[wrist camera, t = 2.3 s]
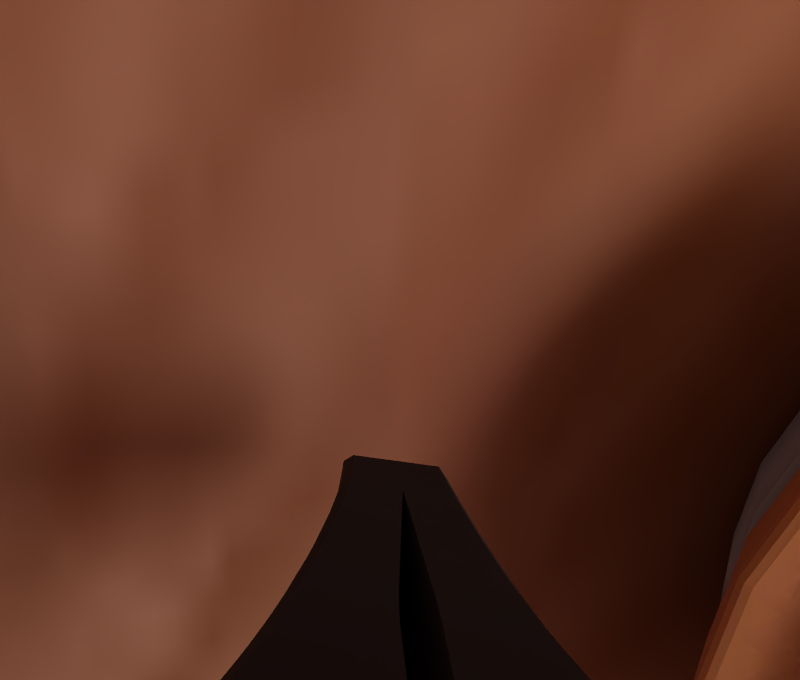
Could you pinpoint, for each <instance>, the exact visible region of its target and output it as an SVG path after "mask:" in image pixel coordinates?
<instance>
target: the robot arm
mask: <svg viewBox="0 0 800 680" xmlns="http://www.w3.org/2000/svg"><path fill="white" fill-rule="evenodd" d="M221 680H590V679H589V677H588V676H587V675H586V674H585V673H584V672H583V671H582V670H581V669H580V667H579V666H578V665H577V664H576V663H575V662H574V661H573V660H572V659H571V657H570V656H569V655H568V654H567V653H566V652H565V651H564V650H563V648H562V647H561V646H560V645H559V644H558V642H557V641H556V640H555V639H554V638H553V636H552V635H551V634H550V633H549V632H548V630H547V629H546V628H545V626H544V625H543V624H542V623H541V621H540V620H539V619H538V617H537V616H536V615H535V613H534V612H533V611H532V609H531V608H530V607H529V605H528V604H527V603H526V602H525V600H524V599H523V597H522V596H521V595H520V593H519V592H518V590H517V589H516V588H515V586H514V585H513V583H512V582H511V581H510V579H509V578H508V576H507V575H506V573H505V572H504V570H503V569H502V567H501V566H500V564H499V563H498V561H497V560H496V558H495V557H494V555H493V554H492V553H491V551H490V550H489V548H488V547H487V545H486V543H485V542H484V540H483V539H482V537H481V536H480V534H479V532H478V531H477V529H476V528H475V526H474V524H473V523H472V521H471V519H470V518H469V516H468V515H467V513H466V511H465V510H464V508H463V506H462V504H461V503H460V501H459V499H458V498H457V496H456V494H455V492H454V491H453V489H452V487H451V486H450V484H449V482H448V480H447V479H446V477H445V475H444V474H443V472H442V471H441V469H440V468H439V467H437V466H430V465H422V464H415V463H407V462H400V461H393V460H385V459H378V458H370V457H363V456H355V455H353V456H351V457H350V458H348V459H346V460H345V461H344V463H343V469H342V474H341V479H340V485H339V490H338V493H337V496H336V498H335V501H334V503H333V506H332V508H331V511H330V513H329V515H328V517H327V519H326V521H325V523H324V526H323V528H322V530H321V532H320V534H319V536H318V538H317V540H316V542H315V544H314V546H313V548H312V549H311V551H310V553H309V555H308V557H307V558H306V560H305V562H304V563H303V565H302V566H301V568H300V570H299V571H298V573H297V575H296V576H295V578H294V580H293V581H292V583H291V585H290V586H289V588H288V590H287V591H286V593H285V594H284V596H283V597H282V599H281V600H280V602H279V603H278V605H277V606H276V608H275V609H274V611H273V612H272V614H271V615H270V617H269V618H268V619H267V621H266V622H265V624H264V625H263V626H262V628H261V629H260V630H259V632H258V633H257V634H256V636H255V637H254V639H253V640H252V641H251V643H250V644H249V645H248V647H247V648H246V649H245V650H244V652H243V653H242V654H241V656H240V657H239V658H238V659H237V660H236V662H235V663H234V664H233V665H232V667H231V668H230V669H229V670H228V671H227V673H226V674H225V675H224V676H223V678H222V679H221Z"/></svg>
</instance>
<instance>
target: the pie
mask: <svg viewBox="0 0 800 680" xmlns="http://www.w3.org/2000/svg"><path fill="white" fill-rule="evenodd" d="M694 680H800V411H799V412H798V413H797V415H796V416H795V417H794V419H793V420H792V422H791V423H790V424H789V426H788V427H787V428H786V430H785V431H784V432H783V434H782V435H781V436H780V438H779V439H778V440H777V442H776V443H775V444H774V446H773V447H772V449H771V450H770V451H769V453H768V454H767V455H766V457H765V458H764V459H763V461H762V462H761V464H760V467H759V469H758V472H757V475H756V477H755V480H754V482H753V485H752V488H751V490H750V493H749V495H748V498H747V501H746V503H745V506H744V509H743V511H742V514H741V516H740V519H739V522H738V524H737V527H736V529H735V532H734V536H733V541H732V546H731V551H730V556H729V561H728V566H727V571H726V576H725V581H724V586H723V591H722V596H721V603H720V605H719V608H718V611H717V613H716V616H715V618H714V621H713V623H712V626H711V628H710V631H709V633H708V636H707V639H706V642H705V645H704V649H703V652H702V655H701V658H700V662H699V665H698V668H697V671H696V674H695V678H694Z"/></svg>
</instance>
